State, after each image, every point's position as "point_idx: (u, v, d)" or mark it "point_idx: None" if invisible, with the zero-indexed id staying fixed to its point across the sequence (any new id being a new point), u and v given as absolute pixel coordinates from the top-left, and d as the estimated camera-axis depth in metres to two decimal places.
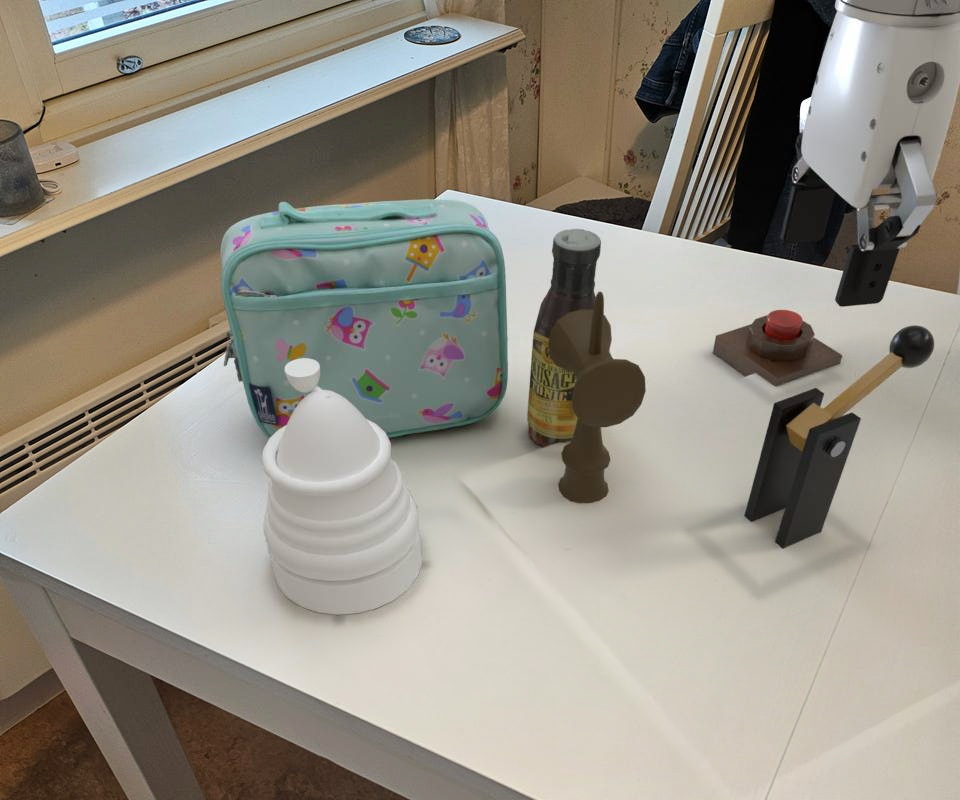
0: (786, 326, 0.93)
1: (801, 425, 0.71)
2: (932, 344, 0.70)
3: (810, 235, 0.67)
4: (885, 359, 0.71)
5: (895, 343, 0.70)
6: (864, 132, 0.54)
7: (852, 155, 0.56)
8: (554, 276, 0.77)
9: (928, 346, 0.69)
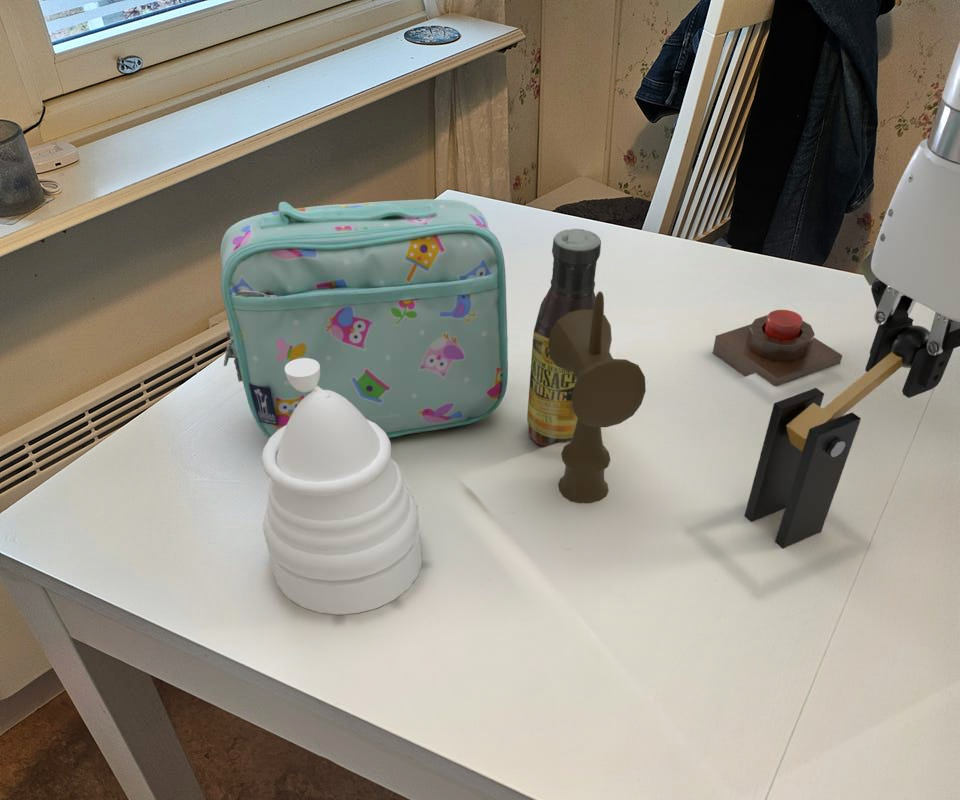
0: (786, 326, 0.93)
1: (801, 425, 0.71)
2: None
3: None
4: (885, 359, 0.71)
5: (895, 343, 0.70)
6: None
7: (956, 280, 0.63)
8: (554, 276, 0.77)
9: None
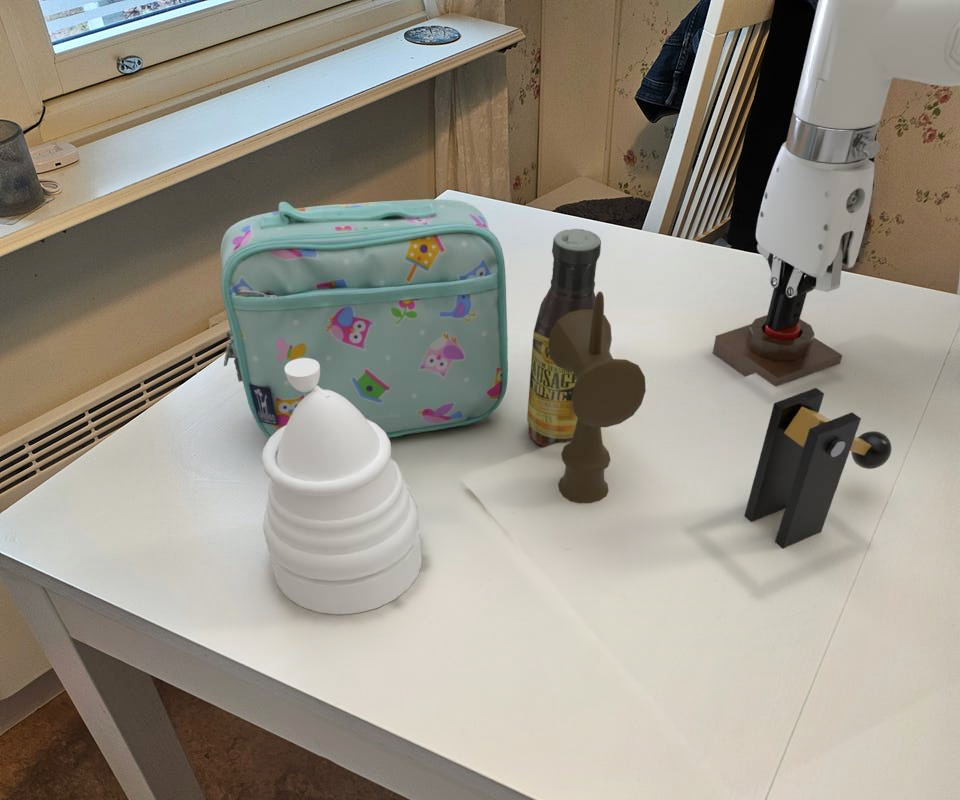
0: (784, 333, 0.94)
1: (815, 414, 0.71)
2: (889, 456, 0.78)
3: None
4: (859, 438, 0.77)
5: (869, 434, 0.77)
6: (819, 232, 0.84)
7: (810, 245, 0.85)
8: (554, 276, 0.77)
9: (890, 452, 0.77)
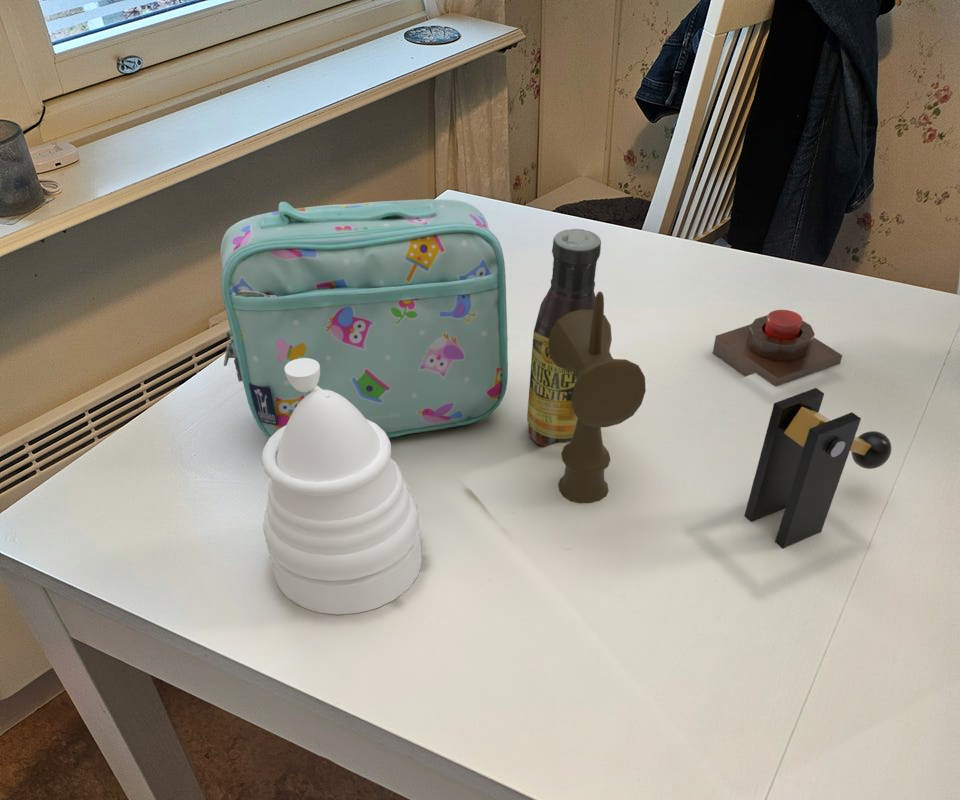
0: (786, 326, 0.93)
1: (815, 414, 0.71)
2: (889, 456, 0.78)
3: None
4: (859, 438, 0.77)
5: (869, 434, 0.77)
6: None
7: None
8: (554, 276, 0.77)
9: (890, 452, 0.77)
